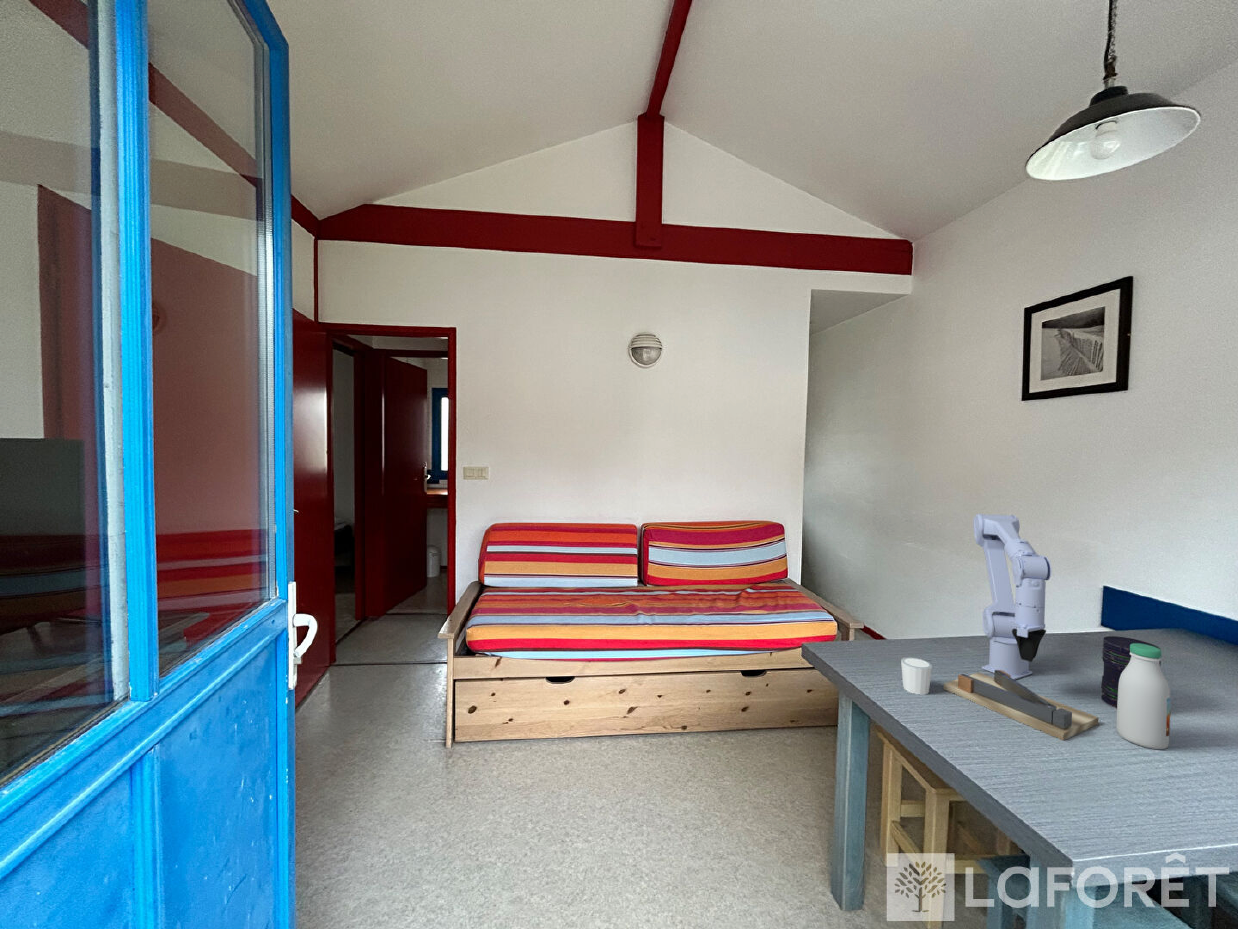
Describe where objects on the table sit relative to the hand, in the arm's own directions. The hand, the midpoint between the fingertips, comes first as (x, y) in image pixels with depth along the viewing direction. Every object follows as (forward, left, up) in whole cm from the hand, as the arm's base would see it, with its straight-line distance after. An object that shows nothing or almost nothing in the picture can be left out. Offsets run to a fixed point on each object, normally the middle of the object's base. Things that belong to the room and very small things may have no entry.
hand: (1028, 658), depth 126 cm
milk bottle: (0, +21, -10) cm, 23 cm away
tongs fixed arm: (+13, +3, -8) cm, 15 cm away
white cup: (+22, -14, -10) cm, 28 cm away
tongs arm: (+7, +3, -8) cm, 11 cm away
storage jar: (-17, +13, -10) cm, 23 cm away
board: (+8, +1, -9) cm, 12 cm away
